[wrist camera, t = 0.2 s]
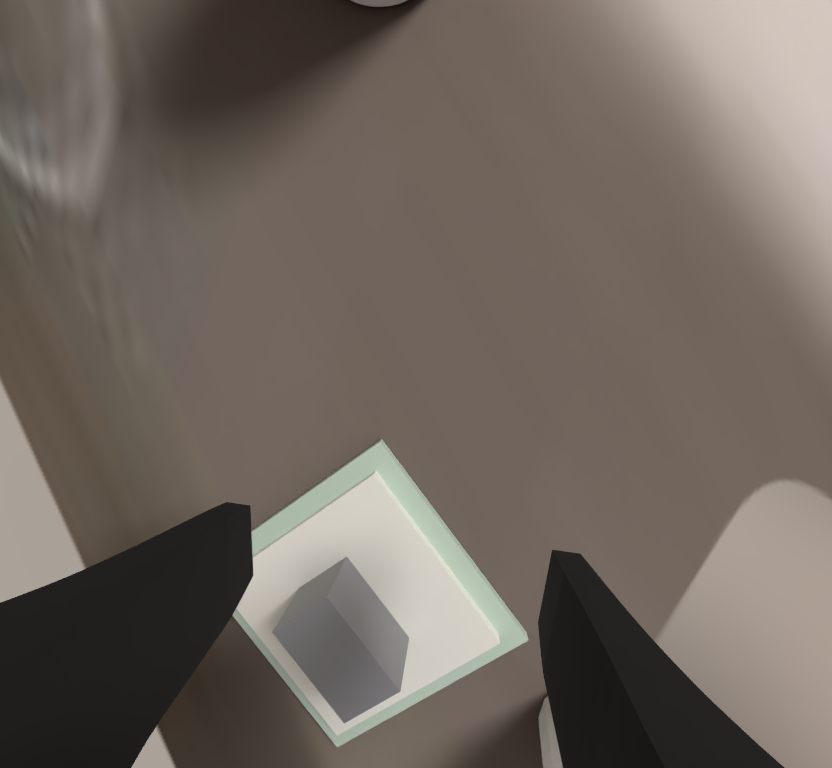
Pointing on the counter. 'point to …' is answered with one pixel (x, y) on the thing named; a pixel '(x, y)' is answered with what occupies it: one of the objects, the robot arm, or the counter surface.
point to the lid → (361, 606)
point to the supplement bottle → (379, 2)
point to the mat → (439, 538)
